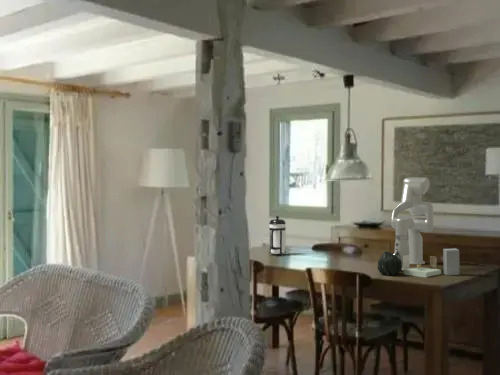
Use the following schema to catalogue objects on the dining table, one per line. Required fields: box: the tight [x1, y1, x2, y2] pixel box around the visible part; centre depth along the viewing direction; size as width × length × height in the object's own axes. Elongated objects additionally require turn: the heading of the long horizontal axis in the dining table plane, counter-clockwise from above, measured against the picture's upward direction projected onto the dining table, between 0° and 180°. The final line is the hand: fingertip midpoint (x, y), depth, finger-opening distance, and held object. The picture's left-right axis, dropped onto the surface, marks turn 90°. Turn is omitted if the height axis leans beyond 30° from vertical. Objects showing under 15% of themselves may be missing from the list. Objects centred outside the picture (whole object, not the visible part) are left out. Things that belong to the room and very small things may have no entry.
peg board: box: [403, 266, 442, 278], centre depth 390 cm, size 16×16×3 cm
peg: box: [429, 255, 438, 269], centre depth 398 cm, size 4×4×10 cm
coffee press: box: [268, 215, 287, 256], centre depth 486 cm, size 17×16×30 cm
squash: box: [377, 251, 402, 276], centre depth 392 cm, size 14×15×15 cm
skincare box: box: [442, 247, 460, 276], centre depth 390 cm, size 8×7×16 cm
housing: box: [397, 255, 411, 271], centre depth 403 cm, size 7×7×9 cm
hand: (401, 265), depth 403 cm, fingers closed on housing, 7 cm apart
